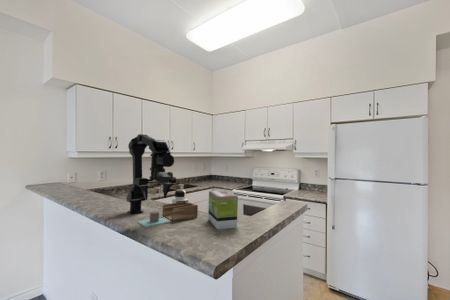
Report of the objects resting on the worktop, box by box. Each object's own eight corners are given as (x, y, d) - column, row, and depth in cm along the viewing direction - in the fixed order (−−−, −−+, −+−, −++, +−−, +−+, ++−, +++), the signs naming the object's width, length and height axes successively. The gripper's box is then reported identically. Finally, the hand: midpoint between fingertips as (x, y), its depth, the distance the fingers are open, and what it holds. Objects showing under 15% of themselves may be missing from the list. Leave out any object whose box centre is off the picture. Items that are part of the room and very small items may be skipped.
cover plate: (137, 223, 95) (137, 212, 95) (161, 219, 103) (161, 208, 104) (145, 229, 88) (146, 217, 89) (170, 223, 97) (170, 212, 97)
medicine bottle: (175, 213, 112) (176, 191, 113) (171, 210, 118) (172, 190, 119) (187, 212, 116) (188, 191, 117) (183, 209, 122) (184, 189, 123)
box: (162, 217, 105) (162, 204, 105) (185, 212, 114) (185, 201, 115) (173, 222, 97) (174, 208, 97) (197, 217, 107) (197, 205, 107)
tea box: (207, 220, 103) (208, 190, 104) (225, 218, 106) (226, 190, 107) (216, 230, 89) (217, 195, 89) (237, 227, 92) (238, 195, 93)
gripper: (145, 166, 85) (143, 204, 85) (183, 166, 98) (182, 199, 98) (135, 165, 93) (133, 200, 93) (171, 165, 106) (170, 195, 106)
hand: (155, 198), depth 97 cm, fingers open, 9 cm apart
